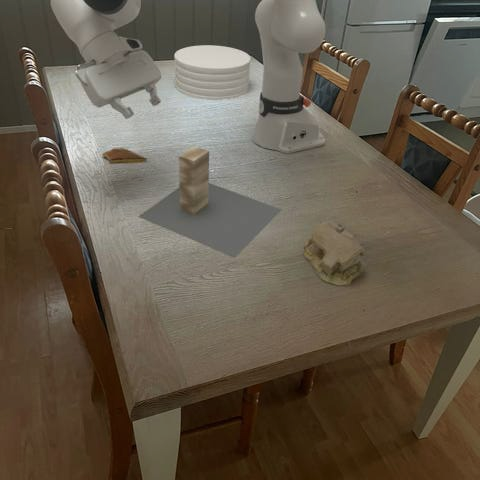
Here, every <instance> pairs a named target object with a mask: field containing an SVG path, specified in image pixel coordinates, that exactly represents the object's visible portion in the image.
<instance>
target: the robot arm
mask: <svg viewBox="0 0 480 480" xmlns="http://www.w3.org/2000/svg"><path fill="white" fill-rule="evenodd" d="M317 4H318V3H317V1H316V0H261V1H260V2H259V3H258V5H257V7H256V9H255V13H254V21H255V24H256V27H257V29H258V33H259V37H260V44H261V51H262V61H263V62H262V63H263V73H262V85H261V86H262V87H261V92H260V95H259V101H258V102H259V103H258V113H259V114H258V119H257V122H256V126H255V129H254V132H253V135H252V140H253V142H254V143H255V144H256V145H258V146H260V147H262V148H265V149H268V150H274V151H278V152H281V153H284V154H291V153H296V152H299V151H300V152H301V151H304V150H308V149H312V148H316V147H321V146H324V145H325V143H326V139H325V136H324V134H322V132H320V125H319V124H320V123H319V121H318V120H317V119H316V117H314V115H313V114H311V113H310V111H308V110H307V109H306V108H308V107H310V106H311V105H312V102H311V100H310V99H308V98H305V97H304V96H303V95H301V87H302V80H303V74H304V73H303V72H304V71H303V70H304V69H303V65H302V63H301V61H300V60H301V59H300V56H299V54H311V53H313V52H314V51H316V50H317V49H318V48H319V47H320V46H321V45H322V44H323V42H324V39H325V36H326V28H327V27H326V23H325V20H324V18H323V16H322V15H321V13H320V11H319V8H318V5H317ZM50 7H51V10H52V12H53V14H54V16H55V17H56V20H57V21H58V23H59V25H60V26H61V28H62V29H63V31H64V32H65V34H66V35H67V37H68V38H69V40H71V41H72V42H73V43H74V44H75V45H76V46H77V48H78V50H79V54H80V55H81V57H82V58H83V59H84V61H85V62H84V63H79V64H77V65H76V68H75V69H74V71H75V72H74V75H75V76H76V78H77V79H78V81H79V83H80V85H81V87H82V88H83V90H84V92H85V94H86V96H87V97H88V99H89V100H90V102H91V103H92V105H93V106H95V108H102V107H104V106H107V105H110V107H111V108H112V109H113V110H115V111H117V112H118V113H120V114H121V115H122V116H123V117H124V119H125V120H128V119H130V118H132V117H133V116H134V113H135V112H134V111H133V110H132V108H131V107H130V106H125V105H124V104H123V103H121V102H122V99H124V98H127V97H129V96H131V95H133V94H136V93H138V92H141V91H143V90H145V92H146V93H149V96H150V98H149V103H150V104H151V105H152V107H156V106H158V105H159V104H161V102H162V100H161V98H160V97H159V95H158V92H157V83H159V81H160V80H162V72H161V70H160V69H159V67H158V66H157V64H156V63H155V61H154V60H153V58H152V57H151V55H149V53H148V52H147V51H145V50H143V44H142V43H141V41H140V40H139V39H137V38H136V39H135V38H128V37H124V36H119V35H117V33H116V32H115V31H117V30H119V29H122V27H125V26H127V25H129V24H130V23H132V22H134V21H135V20H136V19H137V18H138V17H139V15H140V12H141V9H142V0H50Z"/></svg>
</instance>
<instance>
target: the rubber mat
mask: <svg viewBox="0 0 480 480" xmlns="http://www.w3.org/2000/svg"><path fill="white" fill-rule="evenodd" d="M281 211H282V208H279V207H278V206H277V207H276V206H274V205H271V204H268V203H265V202H263V201H259V200H257V199H254V198H252V197H249V196H246V195H243V194H240V193H238V192H235V191H232V190H230V189H226V188H223V187H222V186H221V187H220V186H218V185H215V184H213V183H210V182H209V192H208V204H207V205H205V206H204V207H203V208H202V209H200V210H199V211H198V212H197V213H195V214H191V213H189V212H186V211H184V210H181V209H180V186H179V187H178V188H176V189H175V190H174V191H172V192H170V194H168V195H166V196H165V197H164V198H163V199H161V200H160V201H158V202H156V203H155V204H154V205H152V206H151V207H150V208H148V209H147V210H145V211H144V212H143V213H141V214H140V215H138V216H137V217H138V218H140V219H142V220H145V221H147V222H150V223H152V224H155V225H157V226H160V227H161V228H164V229H167V230H169V231H170V232H173V233H176V234H178V235H180V236H182V237H185V238H188V239H190V240H193V241H194V242H197V243H199V244H202V245H203V246H206V247H208V248H212V249H213V250H215V251H219V252H221V253H224V254H225V255H227V256H230V257H232V258H236V257H237V256H238V255H239V254H240V253H241V252H242V251H243V250H244V249H245V248H246V247H247V246H248V245H249V244H250V243H251V242H252V240H254V239H255V238H256V237H257V236H258V235H259V233H261V231H263V229H264V228H265V227H266V226H267V225H268V224H269V223H270V222H271V221H272V220H273V219H274V218H275V217H276V216H277V215H278V214H279V213H280V212H281Z"/></svg>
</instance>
